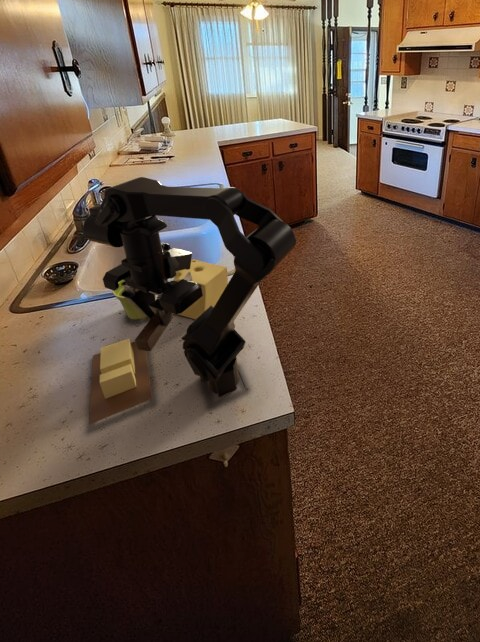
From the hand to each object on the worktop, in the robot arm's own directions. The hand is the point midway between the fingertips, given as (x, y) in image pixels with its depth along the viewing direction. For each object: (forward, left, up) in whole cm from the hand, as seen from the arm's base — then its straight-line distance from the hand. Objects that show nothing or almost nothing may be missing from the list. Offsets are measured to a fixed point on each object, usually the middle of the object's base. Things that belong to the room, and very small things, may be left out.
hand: (160, 322), depth 67 cm
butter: (+3, +9, -10) cm, 14 cm away
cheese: (+15, -9, -10) cm, 20 cm away
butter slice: (-3, +9, -10) cm, 13 cm away
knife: (+3, -2, -1) cm, 4 cm away
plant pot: (+20, +4, -11) cm, 23 cm away
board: (+1, +9, -11) cm, 14 cm away
